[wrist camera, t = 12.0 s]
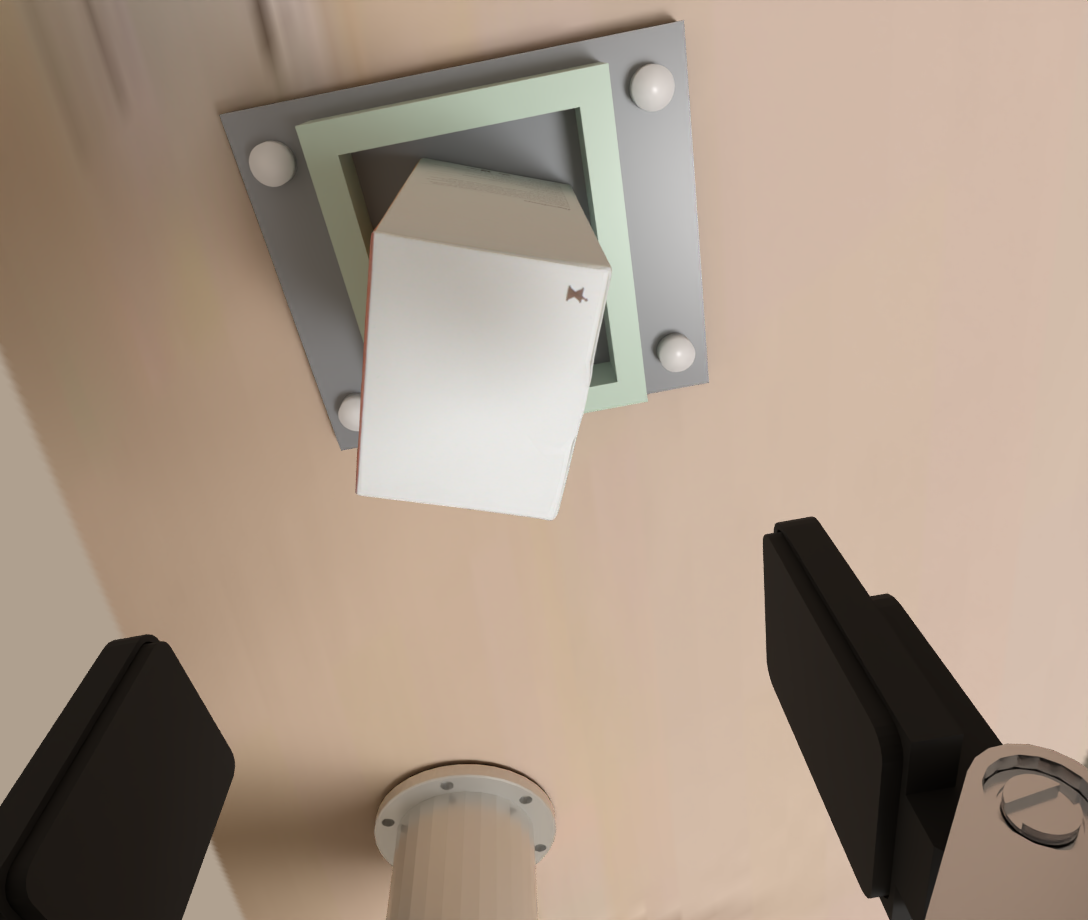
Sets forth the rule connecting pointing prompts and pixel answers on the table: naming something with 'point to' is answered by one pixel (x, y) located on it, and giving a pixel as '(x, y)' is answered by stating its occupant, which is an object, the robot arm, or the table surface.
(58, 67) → the table surface
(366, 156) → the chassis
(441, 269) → the small box
